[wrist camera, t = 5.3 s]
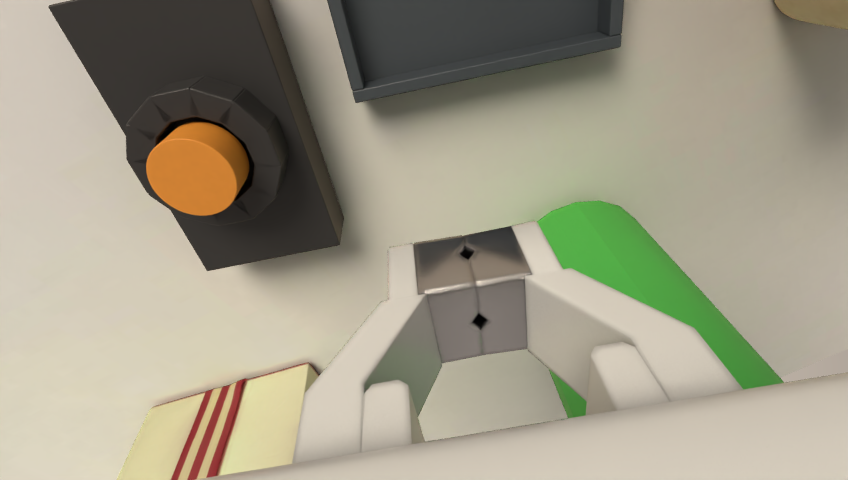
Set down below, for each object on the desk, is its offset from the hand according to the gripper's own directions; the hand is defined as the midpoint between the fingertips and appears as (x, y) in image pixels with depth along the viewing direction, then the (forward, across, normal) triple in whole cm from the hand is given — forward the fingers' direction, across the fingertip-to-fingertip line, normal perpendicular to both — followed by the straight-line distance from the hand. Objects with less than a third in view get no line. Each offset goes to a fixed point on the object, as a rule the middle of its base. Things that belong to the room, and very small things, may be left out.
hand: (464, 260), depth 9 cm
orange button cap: (+12, +10, +1) cm, 16 cm away
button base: (+17, +10, +1) cm, 20 cm away
